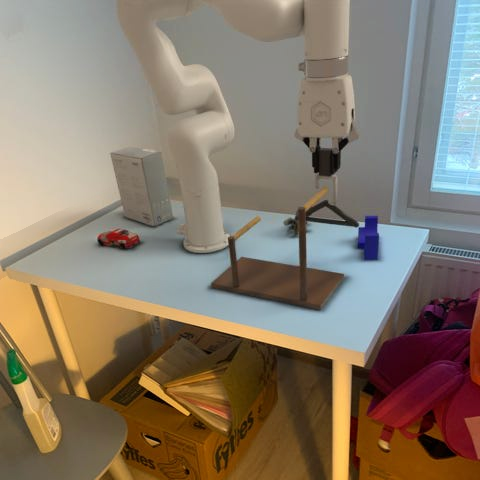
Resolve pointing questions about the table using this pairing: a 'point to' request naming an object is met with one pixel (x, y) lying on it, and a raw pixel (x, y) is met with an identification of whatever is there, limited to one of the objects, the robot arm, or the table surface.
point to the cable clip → (369, 238)
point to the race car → (119, 238)
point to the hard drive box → (142, 185)
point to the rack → (280, 272)
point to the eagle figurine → (293, 224)
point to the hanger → (325, 174)
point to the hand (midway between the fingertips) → (326, 171)
